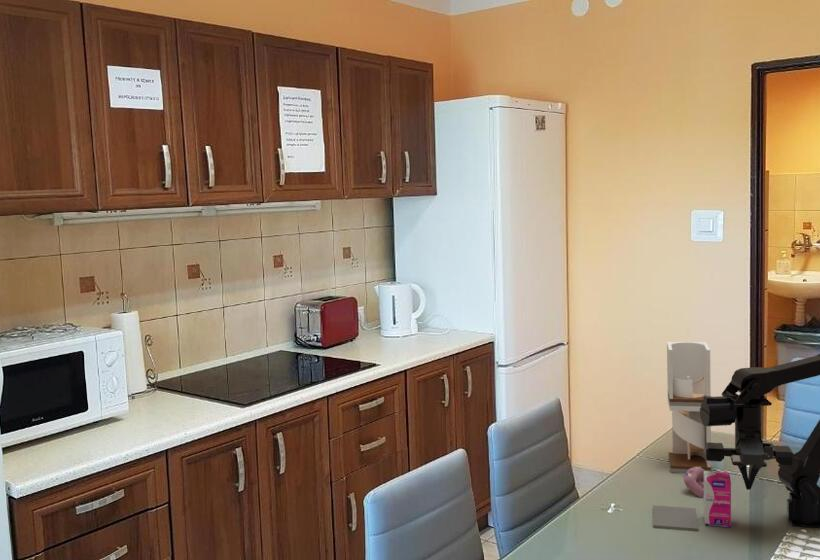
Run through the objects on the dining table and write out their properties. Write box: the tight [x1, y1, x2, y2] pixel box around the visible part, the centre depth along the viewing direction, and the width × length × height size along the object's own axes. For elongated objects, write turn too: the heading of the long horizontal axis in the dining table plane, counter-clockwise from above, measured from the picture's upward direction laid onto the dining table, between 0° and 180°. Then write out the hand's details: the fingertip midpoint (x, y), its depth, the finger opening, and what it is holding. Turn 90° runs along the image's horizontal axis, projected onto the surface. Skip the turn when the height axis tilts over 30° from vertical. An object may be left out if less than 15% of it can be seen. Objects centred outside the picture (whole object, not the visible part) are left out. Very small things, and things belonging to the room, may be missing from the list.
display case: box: [666, 341, 712, 474], centre depth 218 cm, size 11×11×35 cm
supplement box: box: [703, 471, 732, 528], centre depth 182 cm, size 6×6×12 cm
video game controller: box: [683, 467, 705, 499], centre depth 202 cm, size 10×5×7 cm, turn 141°
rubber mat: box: [652, 505, 699, 532], centre depth 185 cm, size 10×12×1 cm
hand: (748, 489), depth 180 cm, fingers closed
